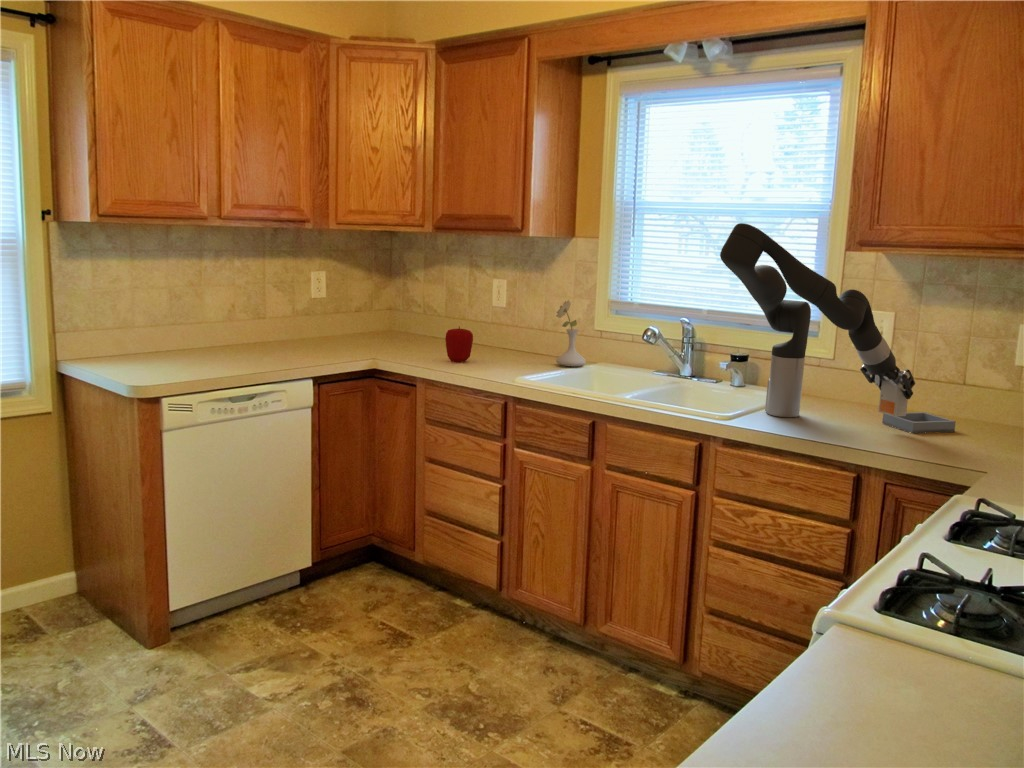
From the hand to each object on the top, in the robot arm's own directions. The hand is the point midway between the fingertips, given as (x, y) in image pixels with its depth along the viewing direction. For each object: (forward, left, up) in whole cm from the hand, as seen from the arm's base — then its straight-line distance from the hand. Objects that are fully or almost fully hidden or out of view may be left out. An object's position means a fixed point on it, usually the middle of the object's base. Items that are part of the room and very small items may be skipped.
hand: (898, 394), depth 238 cm
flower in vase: (-114, -52, -11) cm, 126 cm away
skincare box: (0, -2, -6) cm, 6 cm away
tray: (-3, +11, -10) cm, 15 cm away
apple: (-127, -92, -11) cm, 157 cm away
